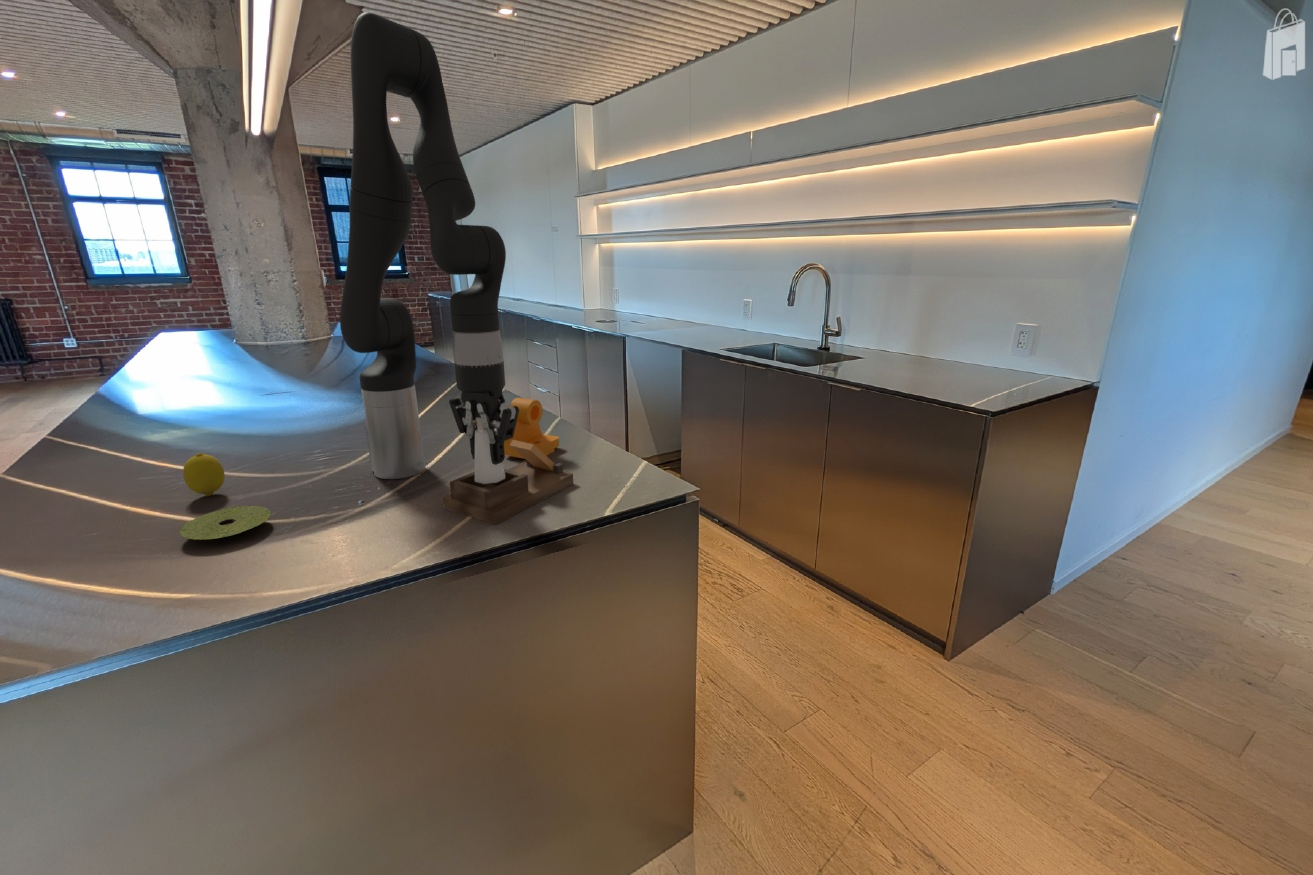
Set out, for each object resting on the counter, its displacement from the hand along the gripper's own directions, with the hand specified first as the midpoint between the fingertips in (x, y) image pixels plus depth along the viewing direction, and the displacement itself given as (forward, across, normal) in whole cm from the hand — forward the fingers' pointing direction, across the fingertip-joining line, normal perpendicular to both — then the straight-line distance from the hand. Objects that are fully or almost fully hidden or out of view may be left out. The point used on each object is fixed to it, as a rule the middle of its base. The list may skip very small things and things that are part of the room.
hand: (488, 460), depth 94 cm
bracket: (+9, +12, -24) cm, 28 cm away
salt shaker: (+3, 0, 0) cm, 3 cm away
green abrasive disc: (+8, +27, +28) cm, 40 cm away
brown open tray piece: (+8, 0, -5) cm, 10 cm away
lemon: (+8, +45, +23) cm, 51 cm away
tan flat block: (+3, 0, -11) cm, 11 cm away
